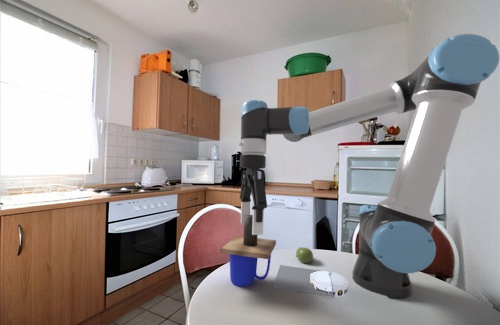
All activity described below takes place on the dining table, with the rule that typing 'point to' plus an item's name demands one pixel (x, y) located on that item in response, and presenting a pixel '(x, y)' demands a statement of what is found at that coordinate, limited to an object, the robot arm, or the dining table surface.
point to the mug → (245, 270)
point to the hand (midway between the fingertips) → (250, 228)
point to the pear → (304, 255)
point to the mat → (296, 280)
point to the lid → (249, 243)
